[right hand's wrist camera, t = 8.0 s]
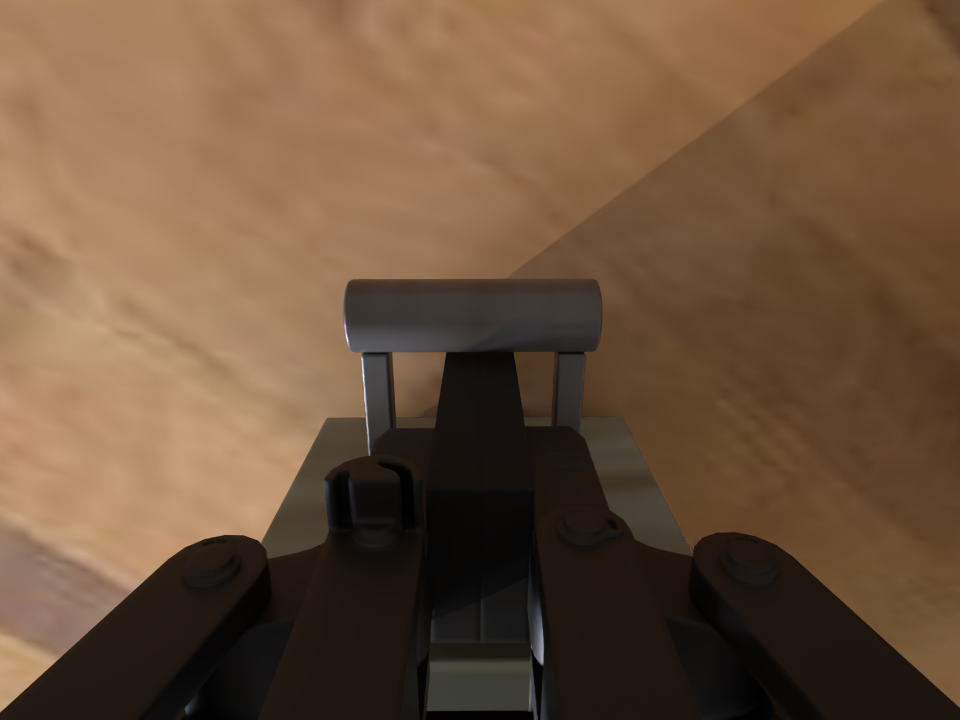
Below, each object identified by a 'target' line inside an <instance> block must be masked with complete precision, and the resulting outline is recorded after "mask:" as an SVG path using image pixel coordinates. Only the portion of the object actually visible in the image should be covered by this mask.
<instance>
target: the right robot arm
mask: <svg viewBox="0 0 960 720" xmlns="http://www.w3.org/2000/svg"><path fill="white" fill-rule="evenodd" d="M323 481H324V490H325V500H326V509H327V518H328V527H329V532H328V535H327V538H326V540H325V542H324V543H322V544H320V545H318V546H316V547H314V548H311V549H308V550H304V551H301V552H297V553H293V554H288V555H284V556H279V557H275V558H270V559H268V558H267V552H266V549H265V548H264V547H263V546H262V544H261V543H260V542H259V541H258V540H255V539H252V538H249V537H247V536H244V535H223V536H218V537H212V538H208V539H204V540H202V541H199V542H197V543H195V544H192V545H190V546H187V547H185V548H184V549H182V550H181V551H179V552H178V553H177V554H175V555H174V556H172V557H171V558H169V559H168V560H167V561H166V562H165V563H164V564H163V565H161V566H160V567H159V568H158V569H157V570H156V571H155V572H154V573H153V574H152V575H151V576H149V577H148V578H147V579H146V580H145V581H144V582H143V583H142V584H141V585H140V586H138V587H137V588H136V589H135V590H134V591H133V592H132V593H131V594H130V595H129V596H127V597H126V598H125V599H124V600H123V601H122V602H121V603H120V604H119V605H118V606H117V607H115V608H114V609H113V610H112V611H111V612H110V613H109V614H108V615H107V616H106V617H104V618H103V619H102V620H101V621H100V622H99V623H98V624H97V625H96V626H95V627H94V628H92V629H91V630H90V631H89V632H88V633H87V634H86V635H85V636H84V637H83V638H81V639H80V640H79V641H78V642H77V643H76V644H75V645H74V646H73V647H72V648H71V649H69V650H68V651H67V652H66V653H65V654H64V655H63V656H62V657H61V658H60V659H58V660H57V661H56V662H55V663H54V664H53V665H52V666H51V667H50V668H49V669H48V670H46V671H45V672H44V673H43V674H42V675H41V676H40V677H39V678H38V679H37V680H35V681H34V682H33V683H32V684H31V685H30V686H29V687H28V688H27V689H26V690H25V691H23V692H22V693H21V694H20V695H19V696H18V697H17V698H16V699H15V700H14V701H12V702H11V703H10V704H9V705H8V706H7V707H6V708H5V709H4V710H3V711H1V712H0V720H426V713H427V702H428V691H429V680H430V659H429V643H430V633H431V643H529V630H530V639H531V659H530V684H529V709H528V712H533V713H534V720H960V708H959V707H958V706H957V705H956V704H955V703H954V702H953V701H951V700H950V699H949V698H948V697H947V696H946V695H945V694H944V693H943V692H941V691H940V690H939V689H938V688H937V687H936V686H935V685H934V684H933V683H932V682H930V681H929V680H928V679H927V678H926V677H925V676H924V675H923V674H922V673H921V672H919V671H918V670H917V669H916V668H915V667H914V666H913V665H912V664H911V663H909V662H908V661H907V660H906V659H905V658H904V657H903V656H902V655H901V654H900V653H898V652H897V651H896V650H895V649H894V648H893V647H892V646H891V645H890V644H888V643H887V642H886V641H885V640H884V639H883V638H882V637H881V636H880V635H879V634H877V633H876V632H875V631H874V630H873V629H872V628H871V627H870V626H869V625H867V624H866V623H865V622H864V621H863V620H862V619H861V618H860V617H859V616H858V615H856V614H855V613H854V612H853V611H852V610H851V609H850V608H849V607H848V606H847V605H845V604H844V603H843V602H842V601H841V600H840V599H839V598H838V597H837V596H835V595H834V594H833V593H832V592H831V591H830V590H829V589H828V588H827V587H826V586H824V585H823V584H822V583H821V582H820V581H819V580H818V579H817V578H816V577H814V576H813V575H812V574H811V573H810V572H809V571H808V570H807V569H806V568H805V567H803V566H802V565H801V564H800V563H799V562H798V561H797V560H796V559H795V558H793V557H792V556H791V555H790V554H788V553H787V552H785V551H784V550H782V549H781V548H779V547H778V546H777V545H775V544H772V543H770V542H768V541H765V540H763V539H761V538H758V537H756V536H751V535H746V534H741V533H736V532H730V533H715V534H712V535H709V536H706V537H703V538H702V539H701V540H700V541H699V542H698V543H697V544H696V546H695V547H694V552H693V556H688V555H684V554H679V553H674V552H670V551H665V550H661V549H658V548H654V547H651V546H648V545H646V544H643V543H641V542H639V541H637V540H635V539H634V537H633V534H632V531H631V530H630V528H629V527H628V525H627V524H626V522H625V521H624V520H623V519H622V518H621V517H619V516H618V515H616V514H615V513H613V512H612V511H610V509H609V506H608V504H607V501H606V498H605V495H604V492H603V489H602V486H601V483H600V480H599V478H598V475H597V472H596V469H595V468H594V463H593V460H592V457H590V452H589V449H588V446H587V443H586V440H585V438H584V437H582V436H581V435H580V434H579V433H578V432H576V431H575V430H574V429H573V428H572V427H571V426H525V423H524V417H523V411H522V404H521V398H520V391H519V385H518V378H517V372H516V365H515V359H514V352H447V353H446V359H445V366H444V372H443V379H442V385H441V391H440V398H439V404H438V411H437V417H436V424H435V428H389V429H388V430H387V431H386V432H385V433H384V434H382V435H381V436H380V437H379V438H378V439H377V440H375V443H374V445H373V448H372V451H371V454H370V456H362V457H359V458H356V459H352V460H349V461H346V462H344V463H342V464H340V465H339V466H337V467H335V468H334V469H332V470H331V471H330V472H329V473H328V475H327V476H326V477H325V478H324V480H323Z"/></svg>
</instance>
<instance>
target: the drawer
mask: <svg viewBox="0 0 960 720" xmlns="http://www.w3.org/2000/svg"><path fill="white" fill-rule="evenodd" d="M343 322H344V332H345V338H346V342H347V345H348V347H349V349H350V351H352V352H363V353H362V356H361V363H362V376H363V389H364V402H365V415H366V418H327V419H326V421H325V423H324V425H323V426H322V428H321V430H320V432H319V434H318V436H317V438H316V440H315V442H314V443H313V445H312V447H311V449H310V451H309V453H308V455H307V457H306V459H305V460H304V462H303V464H302V466H301V468H300V470H299V472H298V474H297V476H296V477H295V479H294V481H293V483H292V485H291V487H290V489H289V491H288V493H287V495H286V496H285V498H284V500H283V502H282V504H281V506H280V508H279V510H278V512H277V513H276V515H275V517H274V519H273V521H272V523H271V525H270V527H269V529H268V530H267V532H266V534H265V536H264V538H263V540H262V542H261V544H262V546H263V547H264V548H265V549H266V552H267V558H268V559H270V558H275V557H279V556H284V555H288V554H293V553H297V552H301V551H304V550H308V549H311V548H314V547H316V546H318V545H320V544H322V543H324V542H325V540H326V538H327V535H328V532H329V527H328V518H327V509H326V500H325V490H324V481H323V480H324V478H325V477H326V476H327V475H328V473H329V472H330V471H331V470H332V469H334V468H335V467H337V466H339V465H340V464H342V463H344V462H346V461H349V460H352V459H356V458H359V457H362V456H370V454H371V451H372V448H373V445H374V443H375V440H377V439H378V438H379V437H380V436H381V435H382V434H384V433H385V432H386V431H387V430H388V429H389V428H435V424H436V418H396V412H395V394H394V377H393V360H392V352H555V356H554V377H553V398H552V417H524V423H525V426H571V427H572V428H573V429H574V430H575V431H576V432H578V433H579V434H580V435H581V436H582V437H584V438H585V440H586V443H587V446H588V449H589V452H590V457H592V460H593V463H594V468H595V469H596V472H597V475H598V478H599V480H600V483H601V486H602V489H603V492H604V495H605V498H606V501H607V504H608V506H609V509H610V511H612V512H613V513H615V514H616V515H618V516H619V517H621V518H622V519H623V520H624V521H625V522H626V524H627V525H628V527H629V528H630V530H631V531H632V534H633V537H634V539H635V540H637V541H639V542H641V543H643V544H646V545H648V546H651V547H654V548H658V549H661V550H665V551H670V552H674V553H679V554H684V555H688V556H693V554H692V552H691V550H690V548H689V546H688V544H687V542H686V540H685V538H684V536H683V534H682V532H681V530H680V528H679V527H678V525H677V523H676V521H675V519H674V517H673V515H672V513H671V511H670V509H669V507H668V505H667V503H666V501H665V499H664V497H663V495H662V493H661V491H660V489H659V488H658V486H657V484H656V482H655V480H654V478H653V476H652V474H651V472H650V470H649V468H648V466H647V464H646V462H645V460H644V458H643V456H642V454H641V452H640V450H639V449H638V447H637V445H636V443H635V441H634V439H633V437H632V435H631V433H630V431H629V429H628V427H627V425H626V423H625V421H624V419H623V418H622V417H582V404H583V389H584V374H585V359H586V355H585V353H584V352H593V351H595V350H596V349H597V347H598V344H599V341H600V337H601V330H602V297H601V291H600V287H599V284H598V282H597V281H596V280H594V279H353V280H350V281H349V282H348V284H347V287H346V290H345V295H344V304H343ZM429 659H430V680H429V691H428V702H427V713H426V720H534V713H533V712H528V709H529V684H530V659H531V639H530V630H529V643H431V633H430V643H429Z"/></svg>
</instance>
